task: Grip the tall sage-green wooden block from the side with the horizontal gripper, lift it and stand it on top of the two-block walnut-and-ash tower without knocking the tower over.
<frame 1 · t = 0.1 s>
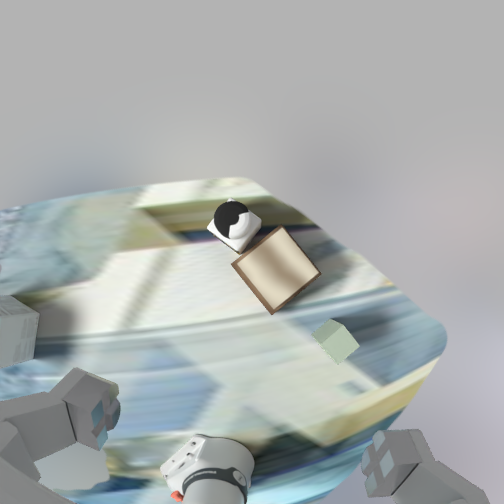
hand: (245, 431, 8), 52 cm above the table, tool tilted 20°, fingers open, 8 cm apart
tower top: (276, 269, 56), point 4 cm above the table, touching tower base
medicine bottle: (236, 230, 62), on the table
tower base: (275, 270, 61), on the table, touching tower top
sage block: (327, 335, 59), on the table
supplement box: (21, 326, 60), on the table
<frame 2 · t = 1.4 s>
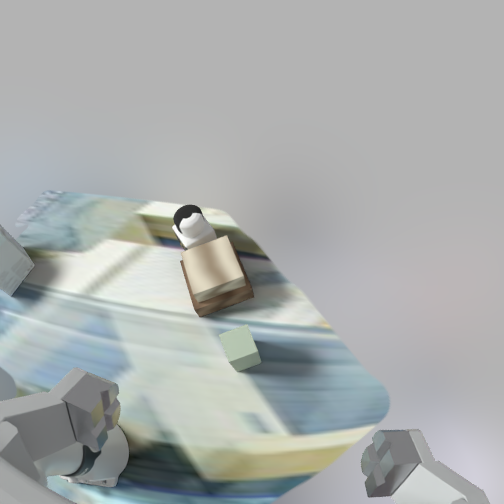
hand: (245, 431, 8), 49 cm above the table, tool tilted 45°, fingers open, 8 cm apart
tower top: (214, 273, 62), point 4 cm above the table, touching tower base
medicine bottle: (200, 246, 71), on the table
tower base: (218, 284, 66), on the table, touching tower top
sage block: (244, 355, 57), on the table
supplement box: (17, 270, 74), on the table
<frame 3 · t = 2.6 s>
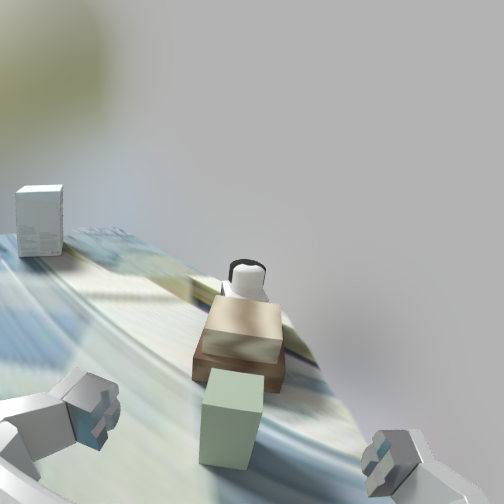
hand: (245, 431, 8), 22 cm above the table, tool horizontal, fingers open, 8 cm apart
tower top: (242, 338, 43), point 4 cm above the table, touching tower base
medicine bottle: (239, 325, 55), on the table
tower base: (239, 364, 44), on the table, touching tower top
sage block: (225, 450, 28), on the table
supplement box: (42, 249, 72), on the table
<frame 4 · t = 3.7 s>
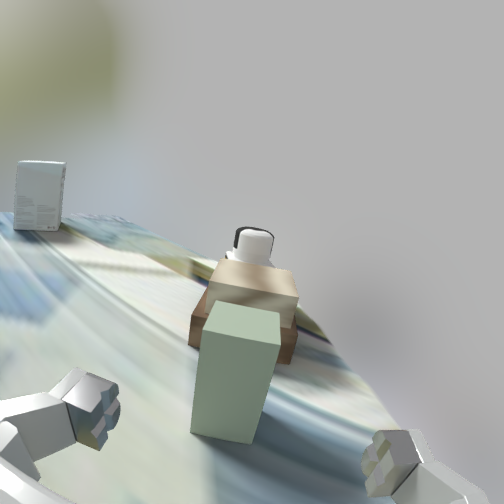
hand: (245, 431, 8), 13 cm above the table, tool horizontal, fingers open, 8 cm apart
tower top: (249, 304, 39), point 4 cm above the table, touching tower base
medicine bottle: (242, 301, 51), on the table
tower base: (242, 335, 40), on the table, touching tower top
sage block: (224, 419, 23), on the table
supplement box: (38, 226, 68), on the table
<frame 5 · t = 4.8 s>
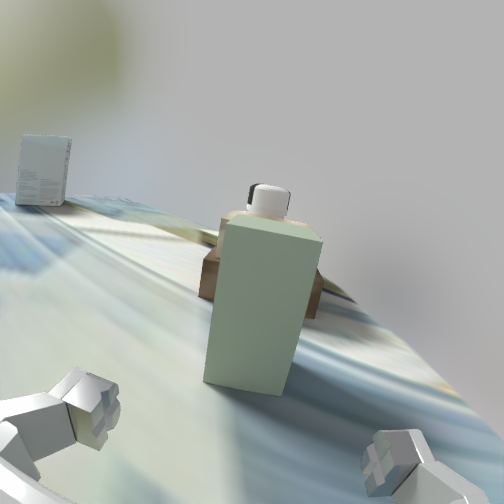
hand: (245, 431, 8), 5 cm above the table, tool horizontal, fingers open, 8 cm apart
tower top: (264, 255, 36), point 4 cm above the table, touching tower base
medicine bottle: (256, 264, 48), on the table
tower base: (258, 292, 37), on the table, touching tower top
sage block: (245, 368, 20), on the table
supplement box: (41, 202, 66), on the table
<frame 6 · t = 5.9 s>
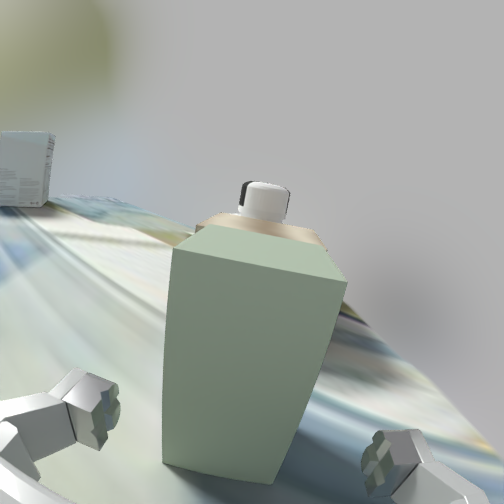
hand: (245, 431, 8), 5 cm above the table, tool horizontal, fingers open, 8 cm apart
tower top: (256, 269, 28), point 4 cm above the table
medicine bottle: (250, 275, 40), on the table
sage block: (224, 439, 13), on the table
supplement box: (22, 203, 59), on the table
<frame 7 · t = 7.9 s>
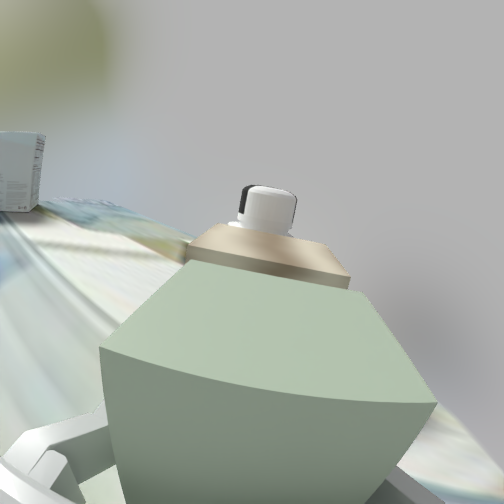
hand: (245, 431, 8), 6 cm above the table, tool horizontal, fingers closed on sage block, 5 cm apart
tower top: (260, 294, 24), point 4 cm above the table, touching tower base
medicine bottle: (251, 292, 36), on the table
supplement box: (11, 208, 54), on the table
when the fingers open (15 cm above the table, at t = 13.6 s): sage block drops 1 cm, resting on tower top.
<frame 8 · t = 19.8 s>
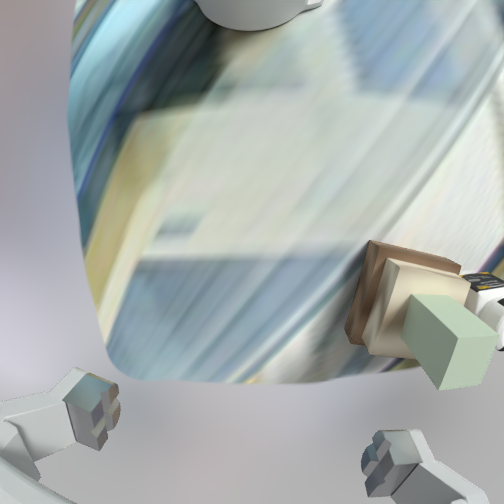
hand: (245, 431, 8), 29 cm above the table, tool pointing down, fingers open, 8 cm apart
tower top: (410, 305, 33), point 4 cm above the table, touching sage block, tower base
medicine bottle: (466, 296, 36), on the table
tower base: (396, 292, 37), on the table, touching tower top
sage block: (425, 316, 29), point 8 cm above the table, touching tower top
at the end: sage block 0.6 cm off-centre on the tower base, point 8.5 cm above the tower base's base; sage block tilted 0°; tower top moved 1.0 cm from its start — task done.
